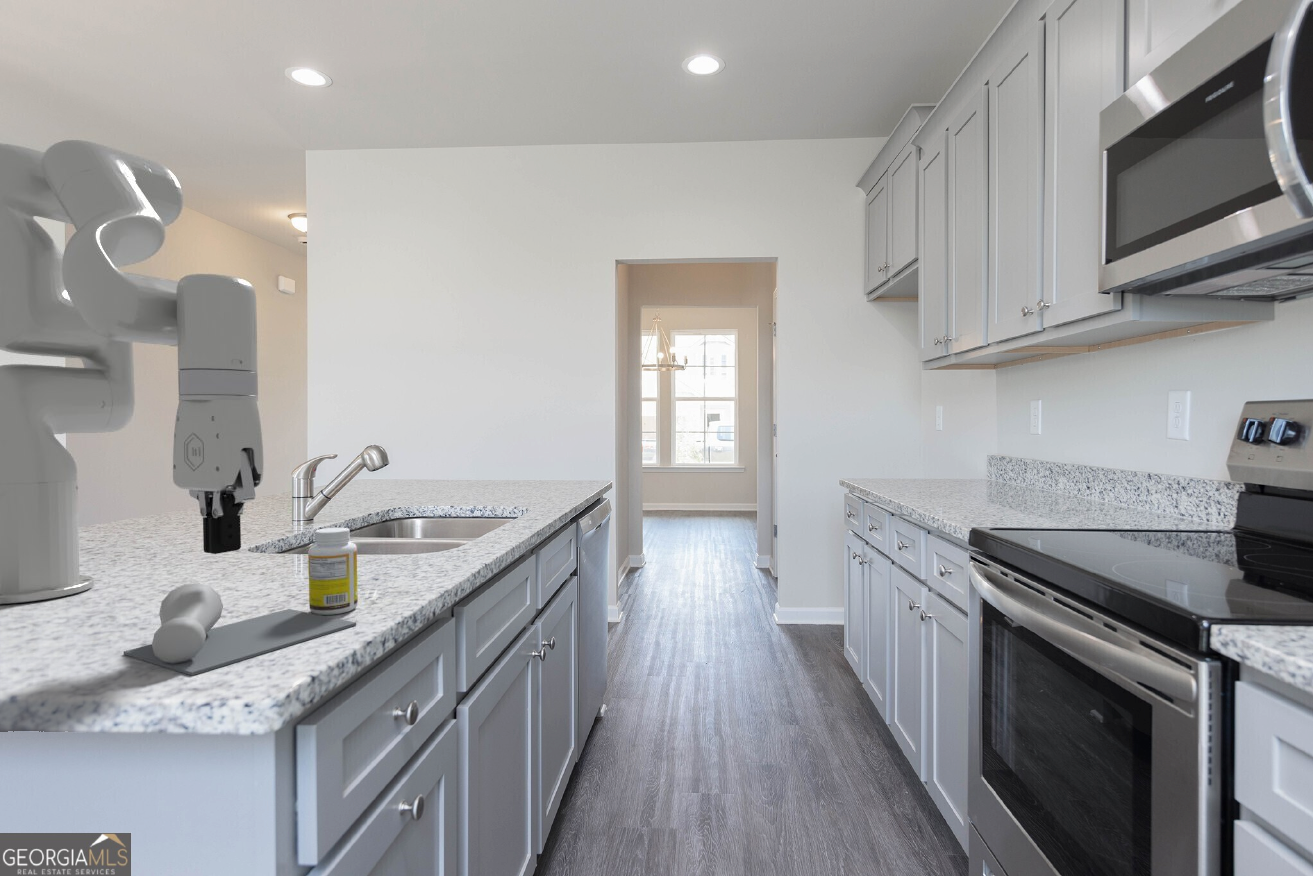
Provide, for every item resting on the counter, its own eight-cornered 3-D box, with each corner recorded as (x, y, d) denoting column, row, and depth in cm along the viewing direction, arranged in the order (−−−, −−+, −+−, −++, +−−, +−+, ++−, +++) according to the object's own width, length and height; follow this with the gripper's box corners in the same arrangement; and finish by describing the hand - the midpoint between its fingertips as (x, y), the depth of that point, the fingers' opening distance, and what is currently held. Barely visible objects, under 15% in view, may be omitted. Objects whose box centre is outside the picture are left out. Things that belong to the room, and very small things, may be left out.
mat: (123, 654, 71) (123, 651, 71) (289, 611, 86) (289, 608, 86) (192, 675, 65) (192, 672, 65) (356, 625, 80) (356, 622, 80)
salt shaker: (199, 636, 78) (183, 685, 67) (150, 611, 76) (124, 657, 64) (236, 594, 80) (226, 634, 68) (189, 567, 77) (170, 605, 66)
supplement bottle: (334, 602, 91) (333, 525, 90) (367, 606, 88) (366, 527, 88) (298, 613, 85) (297, 531, 85) (332, 618, 83) (331, 534, 83)
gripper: (146, 388, 77) (149, 551, 78) (223, 384, 70) (227, 564, 71) (215, 391, 84) (218, 541, 84) (292, 387, 77) (295, 551, 77)
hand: (222, 551), depth 77 cm, fingers closed
